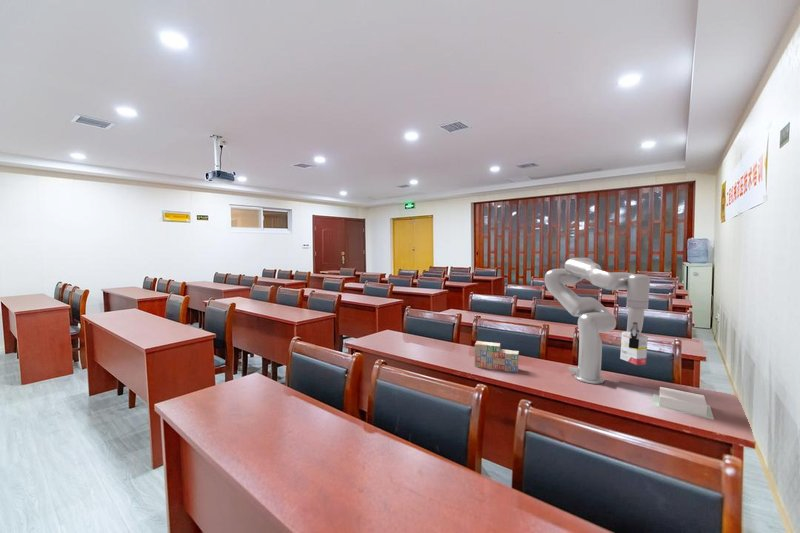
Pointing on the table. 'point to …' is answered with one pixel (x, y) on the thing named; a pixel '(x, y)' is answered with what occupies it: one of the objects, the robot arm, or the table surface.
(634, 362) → the ink box
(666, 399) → the cream brick
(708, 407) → the building plate
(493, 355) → the stack of blocks
